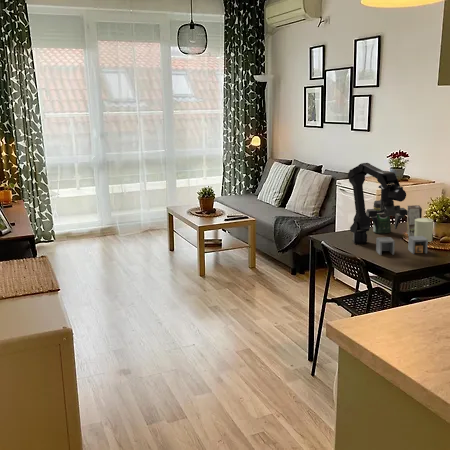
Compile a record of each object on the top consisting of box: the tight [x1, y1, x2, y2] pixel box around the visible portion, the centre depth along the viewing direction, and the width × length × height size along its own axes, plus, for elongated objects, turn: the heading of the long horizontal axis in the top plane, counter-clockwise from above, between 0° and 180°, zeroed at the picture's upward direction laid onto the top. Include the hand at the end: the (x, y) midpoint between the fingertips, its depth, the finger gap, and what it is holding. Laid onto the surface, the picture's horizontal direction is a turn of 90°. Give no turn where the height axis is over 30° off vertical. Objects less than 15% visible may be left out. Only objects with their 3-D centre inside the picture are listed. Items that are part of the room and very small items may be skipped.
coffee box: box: [406, 204, 423, 237], centre depth 281 cm, size 9×6×16 cm
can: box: [414, 217, 434, 243], centre depth 270 cm, size 9×9×12 cm
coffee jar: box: [372, 200, 392, 234], centre depth 290 cm, size 10×8×19 cm
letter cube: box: [414, 244, 424, 254], centre depth 253 cm, size 4×4×4 cm
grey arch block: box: [407, 236, 429, 255], centre depth 253 cm, size 7×7×7 cm
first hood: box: [375, 236, 396, 256], centre depth 254 cm, size 7×7×7 cm
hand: (386, 229), depth 252 cm, fingers open, 9 cm apart
